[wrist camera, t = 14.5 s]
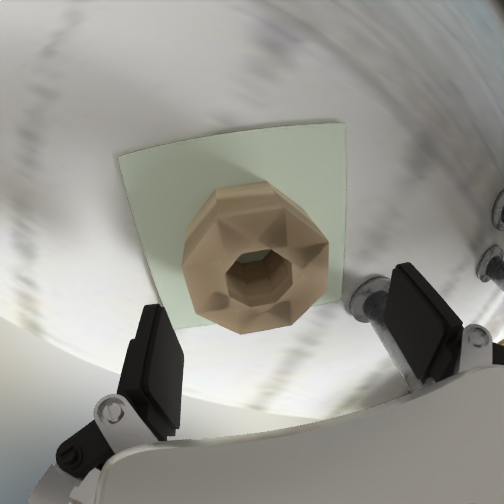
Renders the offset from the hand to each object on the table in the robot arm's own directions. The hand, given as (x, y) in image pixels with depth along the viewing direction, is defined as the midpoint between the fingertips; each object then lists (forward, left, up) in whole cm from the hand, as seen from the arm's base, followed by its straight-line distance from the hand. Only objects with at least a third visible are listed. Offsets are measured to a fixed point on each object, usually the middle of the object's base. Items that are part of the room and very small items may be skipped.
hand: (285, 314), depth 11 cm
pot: (+1, 0, -6) cm, 6 cm away
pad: (+1, 0, -7) cm, 7 cm away
